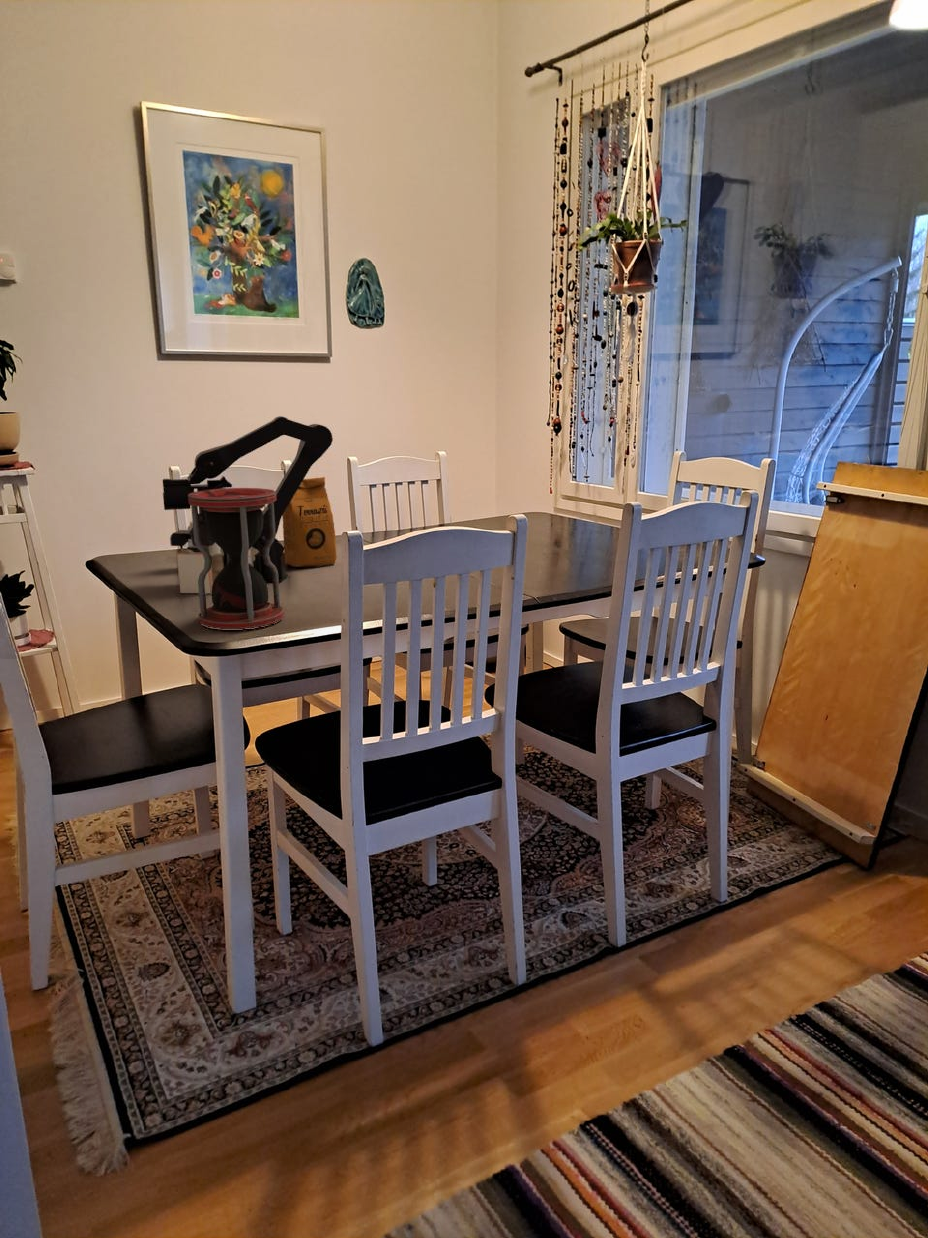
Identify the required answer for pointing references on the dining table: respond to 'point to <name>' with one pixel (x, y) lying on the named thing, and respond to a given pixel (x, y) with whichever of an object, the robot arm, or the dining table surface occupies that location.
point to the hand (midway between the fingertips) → (217, 575)
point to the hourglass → (236, 557)
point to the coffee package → (309, 526)
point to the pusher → (217, 564)
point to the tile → (192, 572)
